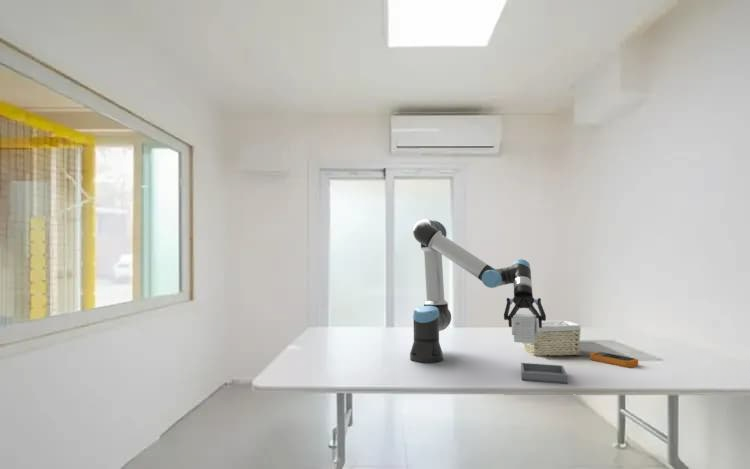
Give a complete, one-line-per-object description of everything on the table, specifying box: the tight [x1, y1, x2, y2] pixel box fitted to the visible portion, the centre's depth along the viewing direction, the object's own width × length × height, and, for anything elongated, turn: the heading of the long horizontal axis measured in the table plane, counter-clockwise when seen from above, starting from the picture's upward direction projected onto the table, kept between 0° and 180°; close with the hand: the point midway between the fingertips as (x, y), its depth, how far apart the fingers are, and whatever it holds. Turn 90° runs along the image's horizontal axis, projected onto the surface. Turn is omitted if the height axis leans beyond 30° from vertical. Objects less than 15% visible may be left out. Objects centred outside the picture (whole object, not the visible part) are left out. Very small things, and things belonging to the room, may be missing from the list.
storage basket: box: [524, 320, 582, 357], centre depth 211 cm, size 24×16×15 cm
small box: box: [513, 313, 537, 344], centre depth 173 cm, size 8×6×10 cm
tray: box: [520, 362, 569, 385], centre depth 169 cm, size 16×15×3 cm
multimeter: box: [589, 351, 639, 369], centre depth 191 cm, size 9×18×3 cm, turn 32°
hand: (525, 333), depth 170 cm, fingers closed on small box, 9 cm apart
